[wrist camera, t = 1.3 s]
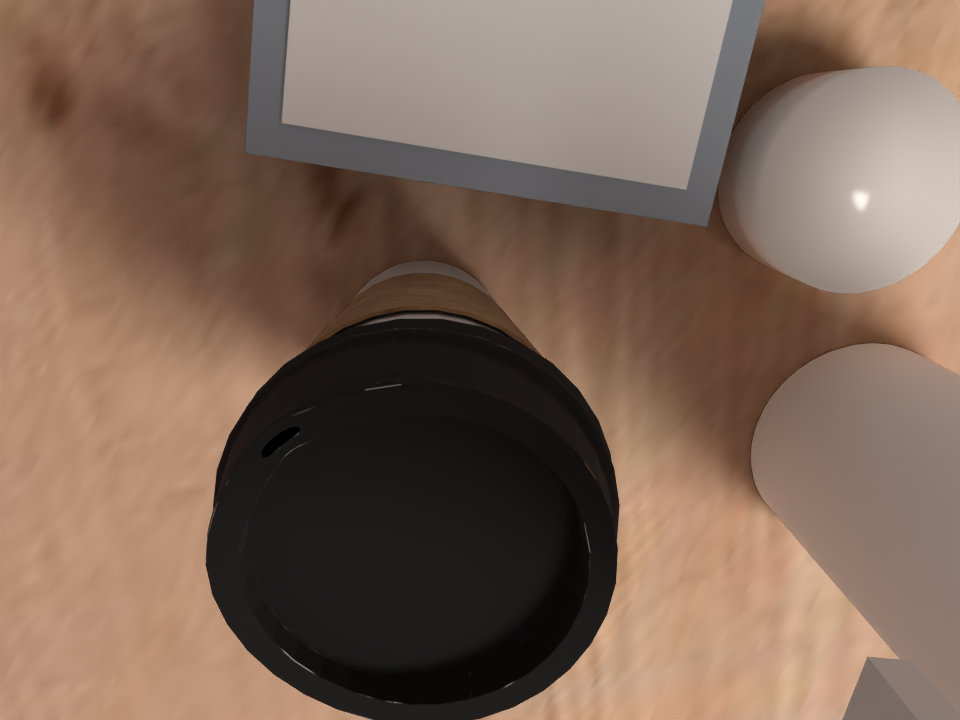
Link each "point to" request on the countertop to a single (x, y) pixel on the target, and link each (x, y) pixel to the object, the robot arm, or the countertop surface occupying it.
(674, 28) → the podium
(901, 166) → the white dome
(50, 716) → the countertop surface
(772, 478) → the container
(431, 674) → the coffee cup
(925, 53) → the countertop surface
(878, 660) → the robot arm
